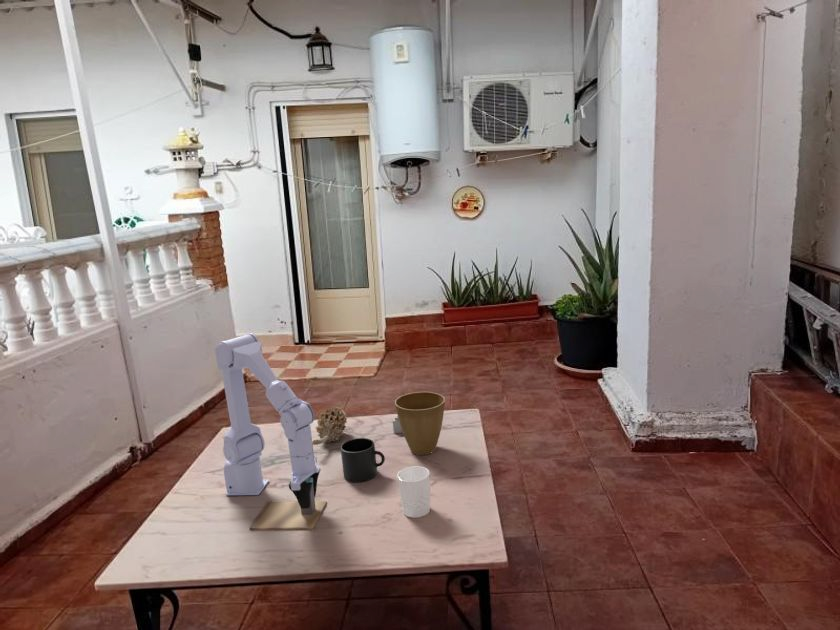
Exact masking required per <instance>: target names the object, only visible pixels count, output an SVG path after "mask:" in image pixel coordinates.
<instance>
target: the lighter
mask: <svg viewBox="0 0 840 630" xmlns="http://www.w3.org/2000/svg"><path fill="white" fill-rule="evenodd" d="M392 430H393V434H395V435H396V434H403V431H402V428H401V425H400V422H399V419H398V415H397V416H395V417H394V418H393V419H392Z"/></svg>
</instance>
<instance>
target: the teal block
mask: <svg viewBox="0 0 840 630" xmlns="http://www.w3.org/2000/svg"><path fill="white" fill-rule="evenodd" d="M305 481H306V482H313V477H308V478H307V479H306V480H305ZM315 498H316V497H315ZM315 498H314V488H313V484H312V487H311V492H310V507H309V508H304V509H301V515H312V514H313V513H314V511H315V509H316V507H315V501H316V500H315Z"/></svg>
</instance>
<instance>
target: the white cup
mask: <svg viewBox="0 0 840 630" xmlns="http://www.w3.org/2000/svg"><path fill="white" fill-rule="evenodd" d="M396 474H397V475H396V477H397V484H398V490H399V497H400V502H401V508H402V512H403V514H404V516H406V517H408V518H412V519H413V518H414V519H415V518H422V517H424V516H425V517H426V515H428V514H429V513H430V511H431V479H430V470H429V469H428V468H426V467H425V466H420V465H413V466H411V465H410V466H407V467H404V468H402V469H401V470H399V471H398V472H397V473H396Z"/></svg>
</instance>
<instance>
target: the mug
mask: <svg viewBox="0 0 840 630" xmlns="http://www.w3.org/2000/svg"><path fill="white" fill-rule="evenodd" d="M340 454H341V463H342V464H341V465H342V471H343V478H344V479H345V480H346V481H348V482H351V483H363V482H368V481H370V480H372V479H374V478H375V477H376V475H377V474H378V467H382V465H383V464H385V461H386V460H385V459H386V458H385V455H384V454H383V453H382V452H381V451H379V450H376V445H375V442H374V441H373V439H371V438H365V437H358V438H353V439H349V440H347V441H345V442H343V443H342V444H341V445H340ZM376 455H379V456H380V458H381V461H380V462H377V457H376Z"/></svg>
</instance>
